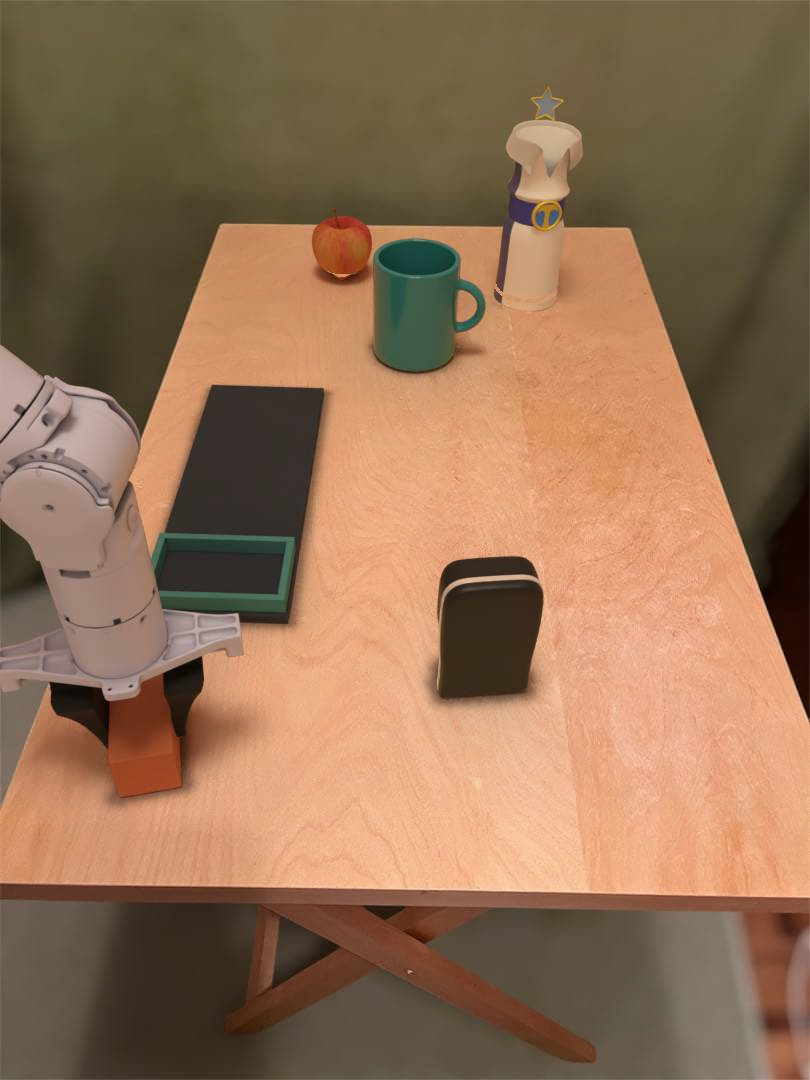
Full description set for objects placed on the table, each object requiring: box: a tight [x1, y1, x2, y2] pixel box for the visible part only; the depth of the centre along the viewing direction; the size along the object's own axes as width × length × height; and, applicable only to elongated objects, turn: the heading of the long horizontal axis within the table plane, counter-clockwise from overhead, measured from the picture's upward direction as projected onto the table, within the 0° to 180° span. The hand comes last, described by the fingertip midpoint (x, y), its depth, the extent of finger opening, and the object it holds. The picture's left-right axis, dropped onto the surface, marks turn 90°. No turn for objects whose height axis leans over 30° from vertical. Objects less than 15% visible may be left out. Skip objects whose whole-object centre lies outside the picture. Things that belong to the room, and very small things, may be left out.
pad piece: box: [107, 673, 183, 798], centre depth 62 cm, size 4×8×4 cm, turn 13°
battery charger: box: [436, 555, 545, 697], centre depth 64 cm, size 7×4×11 cm, turn 96°
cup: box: [372, 237, 487, 373], centre depth 97 cm, size 9×12×11 cm
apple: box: [311, 207, 373, 281], centre depth 112 cm, size 7×7×8 cm
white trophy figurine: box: [493, 85, 584, 312], centre depth 103 cm, size 8×9×25 cm
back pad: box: [151, 384, 325, 625], centre depth 82 cm, size 32×12×2 cm, turn 179°
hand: (146, 730), depth 62 cm, fingers closed on pad piece, 4 cm apart
